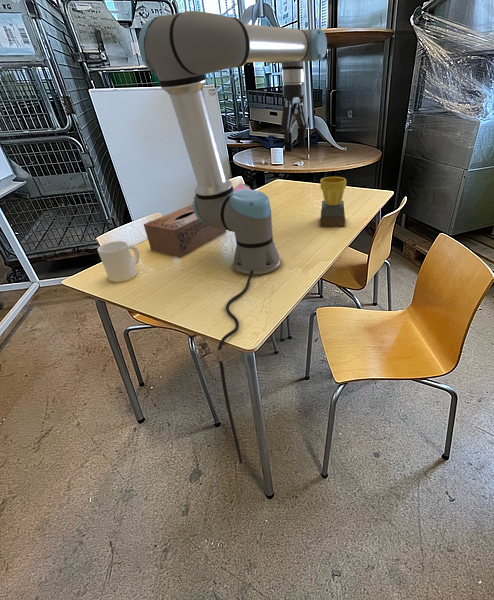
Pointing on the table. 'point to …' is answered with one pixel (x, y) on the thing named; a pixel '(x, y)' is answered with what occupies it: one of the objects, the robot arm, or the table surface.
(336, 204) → the flower pot
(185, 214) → the tissue box cover
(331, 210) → the top block
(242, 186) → the pencil case
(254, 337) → the table surface
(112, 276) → the mug
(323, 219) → the base block
